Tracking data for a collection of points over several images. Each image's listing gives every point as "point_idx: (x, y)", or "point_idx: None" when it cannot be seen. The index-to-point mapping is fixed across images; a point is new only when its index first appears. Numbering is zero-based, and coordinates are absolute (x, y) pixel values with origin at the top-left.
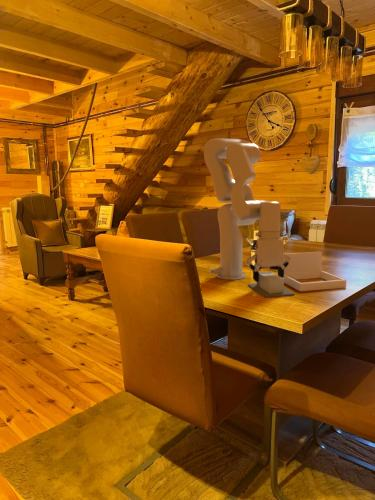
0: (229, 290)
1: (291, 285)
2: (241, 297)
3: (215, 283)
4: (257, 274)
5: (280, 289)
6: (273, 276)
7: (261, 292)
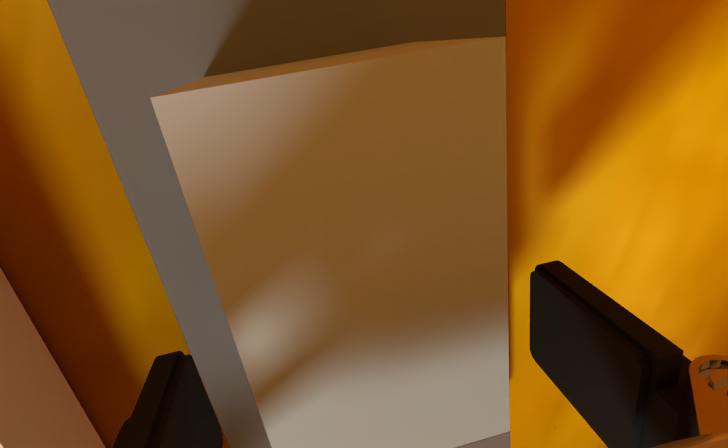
0: (693, 267)
1: (54, 385)
2: (712, 12)
3: None
4: (633, 319)
5: (253, 70)
6: (346, 300)
7: None
